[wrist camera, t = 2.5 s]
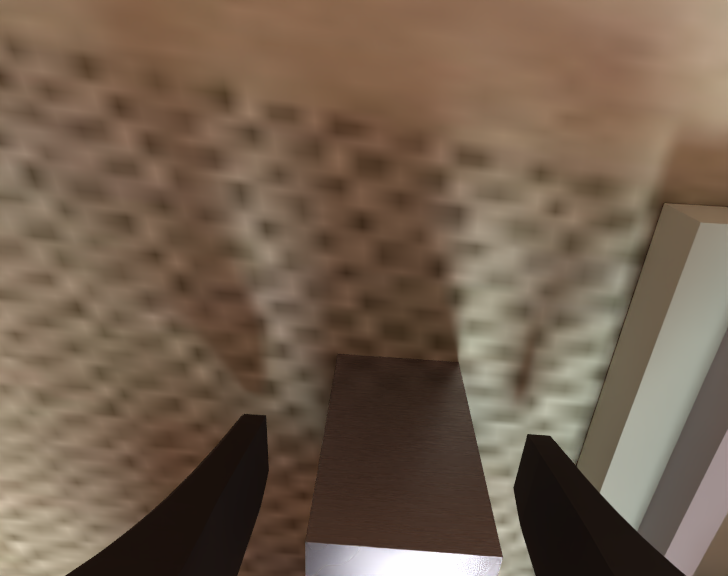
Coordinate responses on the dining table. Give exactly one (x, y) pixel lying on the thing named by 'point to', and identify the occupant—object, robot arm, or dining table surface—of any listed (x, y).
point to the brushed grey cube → (400, 476)
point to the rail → (671, 397)
